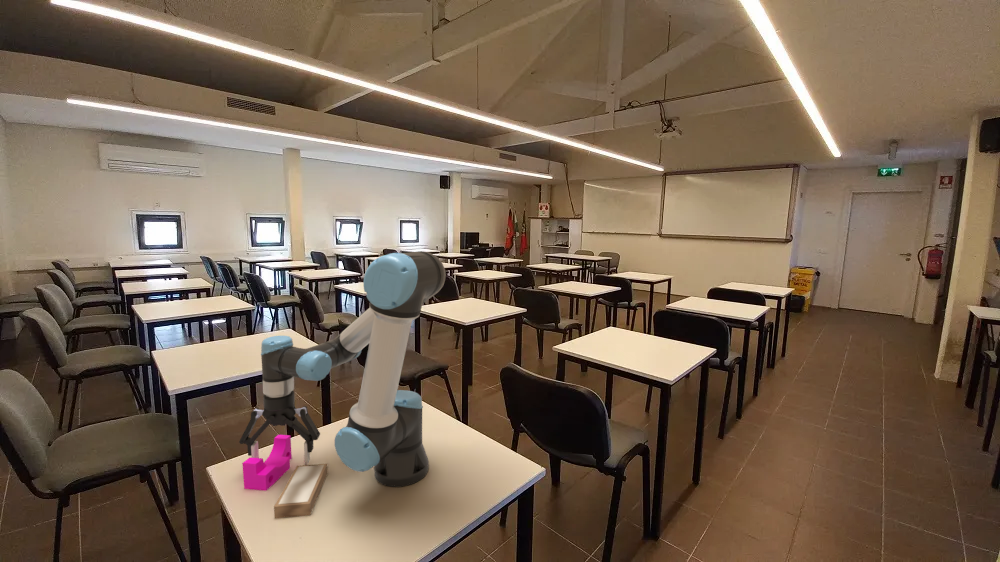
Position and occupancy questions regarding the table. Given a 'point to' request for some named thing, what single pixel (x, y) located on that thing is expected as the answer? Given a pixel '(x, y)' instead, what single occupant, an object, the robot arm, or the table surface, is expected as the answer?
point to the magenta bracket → (268, 465)
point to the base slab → (301, 491)
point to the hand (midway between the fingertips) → (281, 464)
